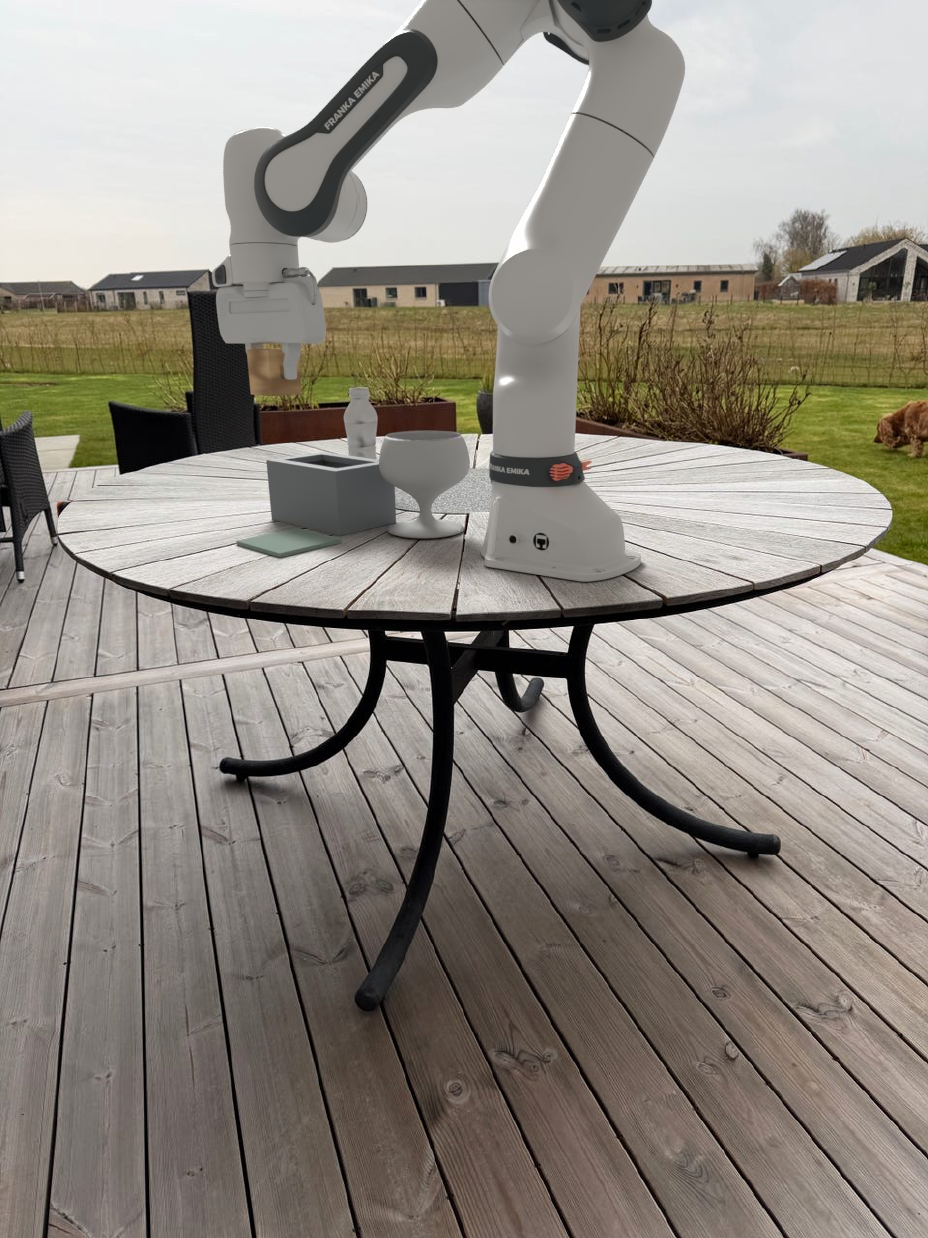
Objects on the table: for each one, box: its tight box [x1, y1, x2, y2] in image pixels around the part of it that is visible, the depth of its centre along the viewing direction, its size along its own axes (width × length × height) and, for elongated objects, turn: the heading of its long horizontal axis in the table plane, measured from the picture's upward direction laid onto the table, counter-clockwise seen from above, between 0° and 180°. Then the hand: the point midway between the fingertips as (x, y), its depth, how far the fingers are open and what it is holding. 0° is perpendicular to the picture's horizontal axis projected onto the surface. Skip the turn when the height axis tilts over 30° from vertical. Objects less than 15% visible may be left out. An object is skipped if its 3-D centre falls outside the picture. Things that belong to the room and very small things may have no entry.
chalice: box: [378, 430, 471, 539], centre depth 122 cm, size 14×14×15 cm
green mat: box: [235, 527, 342, 558], centre depth 118 cm, size 11×11×1 cm
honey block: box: [246, 348, 302, 397], centre depth 109 cm, size 5×5×6 cm
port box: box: [266, 451, 397, 537], centre depth 130 cm, size 18×12×10 cm, turn 48°
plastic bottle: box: [343, 386, 378, 460], centre depth 150 cm, size 6×7×20 cm
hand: (275, 378), depth 110 cm, fingers closed on honey block, 5 cm apart
